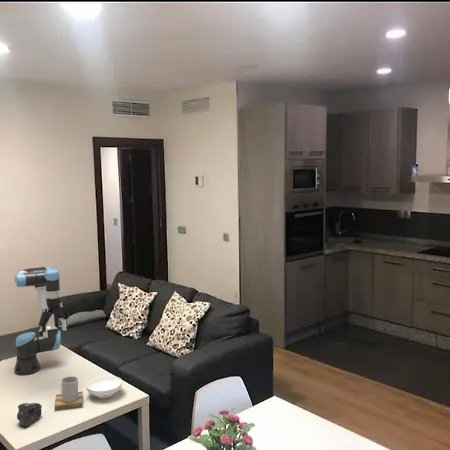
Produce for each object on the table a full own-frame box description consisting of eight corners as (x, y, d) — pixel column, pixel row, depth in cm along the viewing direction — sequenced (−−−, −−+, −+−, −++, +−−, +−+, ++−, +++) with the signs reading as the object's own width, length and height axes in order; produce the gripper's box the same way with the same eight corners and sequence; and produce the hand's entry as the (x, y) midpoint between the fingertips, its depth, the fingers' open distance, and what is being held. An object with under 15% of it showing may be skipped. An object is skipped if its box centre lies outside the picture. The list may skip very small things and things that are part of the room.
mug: (78, 401, 258) (78, 381, 257) (62, 403, 255) (61, 383, 254) (76, 391, 269) (76, 372, 268) (60, 394, 266) (60, 374, 265)
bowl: (129, 390, 276) (128, 378, 275) (110, 405, 258) (109, 393, 257) (99, 385, 283) (99, 373, 282) (79, 400, 264) (78, 388, 263)
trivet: (56, 399, 266) (56, 394, 266) (82, 395, 270) (82, 391, 270) (54, 411, 253) (54, 406, 252) (82, 407, 256) (82, 402, 256)
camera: (23, 415, 249) (22, 397, 248) (43, 414, 249) (42, 396, 248) (13, 429, 235) (12, 409, 234) (34, 428, 236) (33, 409, 235)
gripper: (39, 303, 261) (41, 341, 263) (74, 293, 282) (76, 328, 285) (30, 301, 264) (32, 339, 267) (65, 291, 286) (67, 326, 288)
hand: (55, 333), depth 276 cm, fingers open, 13 cm apart
